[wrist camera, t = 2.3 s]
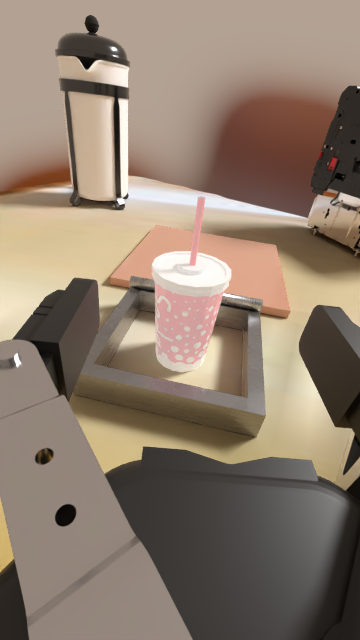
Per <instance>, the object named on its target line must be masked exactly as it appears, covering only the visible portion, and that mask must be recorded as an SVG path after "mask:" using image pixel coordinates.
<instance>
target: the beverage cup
mask: <svg viewBox="0 0 360 640" xmlns="http://www.w3.org/2000/svg"><path fill="white" fill-rule="evenodd" d="M204 203H205V197H198V202H197V210H196V218H195V225H194V233H193V241H192V248H191V252H190V251H174V252H169V253H164V254H162V255H160V256H158V257H156V258H155V259H154V261H153V263H152V270H153V271H152V276H153V279H154V281H155V330H156V356H157V360H158V361H159V362H160V363H161V364H162V365H163V366H164V367H166V368H168V369H170V370H172V371H178V372H187V371H192V370H194V369H196V368H198V367H200V366H201V364H202V363H203V362H204V359H205V355H206V352H207V348H208V345H209V341H210V338H211V334H212V331H213V328H214V324H215V321H216V317H217V314H218V310H219V307H220V303H221V300H222V297H223V293H224V290H225V289H226V288H227V287H228V286H229V281H230V280H231V269H230V268H229V267H228V265H227V264H226V263H225V262H223V261H221V260H219V259H217V258H216V257H213V256H210V255H206V254H203V253H197V251H198V244H199V238H200V231H201V224H202V217H203V210H204Z"/></svg>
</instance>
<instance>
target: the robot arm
mask: <svg viewBox="0 0 360 640" xmlns="http://www.w3.org/2000/svg"><path fill="white" fill-rule="evenodd" d="M99 319H100V316H99V297H98V284H97V281H96V280H91V279H82V278H74V279H73V280H72V281H71V283H70V284H69V285H68V287H67V288H66V290H57V291H55V292H53V293H51V294H50V295H48V296H46V297H45V298H44V300H43V301H42V302H41V303H40V305H39V307H37V309H36V310H35V311H34V312H33V315H31V316H30V317H29V319H28V320H27V321H26V322H25V324H24V325H23V326H22V328H21V329H20V330H19V331H18V333H17V334H16V335H15V336H14V338H13V339H12V340H6V341H2V342H0V497H1V501H2V506H3V510H4V515H5V519H6V524H7V528H8V533H9V537H10V542H11V546H12V550H13V555H14V559H13V560H12V561H11V562H10V563H9V564H8V565H7V566H6V567H5V568H4V569H3V570H2V571H1V572H0V640H360V327H358V326H357V325H356V324H354V323H353V322H352V321H351V320H350V319H349V317H348V316H347V315H346V314H345V312H344V311H343V310H342V309H341V308H340V307H333V306H324V305H317V306H316V307H315V308H314V309H313V311H312V313H311V315H310V318H309V320H308V322H307V324H306V327H305V329H304V331H303V333H302V335H301V338H300V341H299V352H300V355H301V357H302V359H303V361H304V363H305V365H306V367H307V369H308V371H309V373H310V376H311V378H312V380H313V382H314V384H315V386H316V388H317V390H318V392H319V394H320V396H321V398H322V401H323V403H324V405H325V407H326V409H327V411H328V413H329V415H330V417H331V419H332V421H333V423H334V426H335V427H341V428H352V430H353V431H354V433H353V434H352V436H351V437H350V438H349V441H348V444H347V447H346V450H345V453H344V456H343V459H342V462H341V465H340V468H339V471H338V475H337V478H336V481H335V483H332V482H331V481H329V480H327V479H324V478H322V477H320V476H317V474H316V472H315V469H314V466H313V463H312V461H311V460H301V459H289V458H277V457H269V458H263V459H258V460H253V461H248V462H243V463H237V464H226V463H223V462H220V461H217V460H214V459H211V458H208V457H205V456H202V455H199V454H196V453H193V452H190V451H187V450H180V449H168V448H155V447H143V453H142V460H137V461H132V462H129V463H126V464H123V465H121V466H118V467H116V468H114V469H112V470H110V471H108V472H107V473H105V474H104V473H103V471H102V469H101V467H100V465H99V463H98V461H97V459H96V457H95V455H94V453H93V451H92V449H91V447H90V445H89V443H88V441H87V439H86V437H85V435H84V433H83V431H82V429H81V427H80V425H79V423H78V421H77V419H76V417H75V415H74V413H73V411H72V409H71V407H70V405H69V403H68V402H69V399H70V397H71V394H72V392H73V390H74V387H75V385H76V382H77V380H78V378H79V375H80V373H81V370H82V368H83V366H84V363H85V361H86V358H87V356H88V354H89V351H90V349H91V346H92V344H93V342H94V339H95V337H96V334H97V332H98V328H99Z"/></svg>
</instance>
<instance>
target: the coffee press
mask: <svg viewBox="0 0 360 640" xmlns="http://www.w3.org/2000/svg"><path fill="white" fill-rule="evenodd" d="M85 26H86V28H87V30H88V31H89V33H69V34H65V35H64V36H62V37H61V38H60V40H59V42H58V48H57V49H56V50H55V55H56V57H57V59H58V61H59V70H60V78H59V82H60V89H61V91H62V97H63V107H64V115H65V125H66V134H67V144H68V154H69V162H70V172H71V180H72V188H73V194H72V196H71V198H70V203H71V204H73V205H75V206H78V205H79V204H80V203H81V201H82V200H84V199H90V200H98V201H111V202H113V203H114V205H115V207H116V208H117V209H118V210H119V209H124V208H125V204H124V202H123V199H122V198H124V199H127V198H128V99H129V88H128V70H129V68H130V62H129V61H128V60H127V55H126V52H125V50H124V49H123V48H122V46H121V45H119V44H118V43H117V42H115V41H113V40H111V39H109V38H106V37H102V36H98V35H97V34H95V33H96V32H97V31H98V27H99V25H98V21H97V19H96V18H95V17H94V16H92V15H89V16H87V17H86V20H85ZM77 195H78V196H80V198H78V200H77V201H76V203H75V204H74V200H75V198H76V196H77ZM116 200H117V201H116Z"/></svg>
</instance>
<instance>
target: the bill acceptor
mask: <svg viewBox="0 0 360 640" xmlns="http://www.w3.org/2000/svg"><path fill="white" fill-rule="evenodd" d="M338 105H339V106H338V109H337V111H336V114H335V117H334V119H333V121H332V122H331V125H330V128H329V130H328V133H327V136H326V139H325V141H324V145H323V147H322V150H321V151H322V152H321V153H320V156H319V159H318V160H317V163H316V166H315V169H314V174H313V177H312V180H311V187H314V188H313V191H312V192H314V193H316V194H318V197H316V198H315V200H314V203H313V206H312V208H311V211H310V214H309V216H308V219H309V221H308V226H310V227H312V230H314V233H313V235H315V233H316V232H320V233H322V234H324V235H326V236H328V237H330V238H332V239H334V240H336V241H338V242H340V243H342V244H344V245H346V246H349V247H350V248H352V249H353V250H354V251H356V253H355V255H354V256H357V254H358V253H360V87H359V86H348V87H347V88H346V89H345V90H344V91H343V93H342V94H341V97H340V99H339V103H338ZM342 176H345V177H342Z"/></svg>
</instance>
